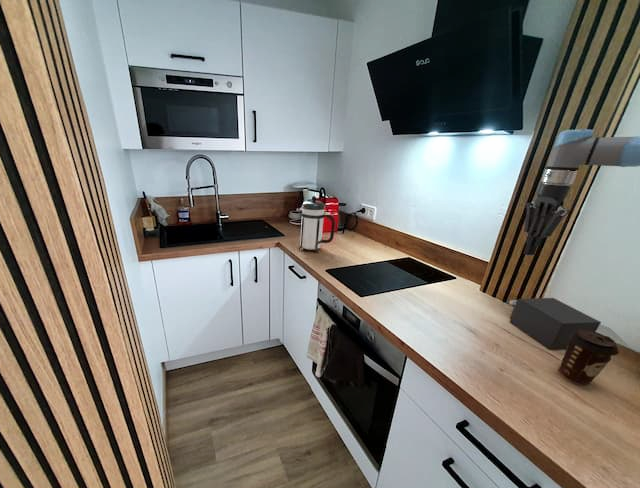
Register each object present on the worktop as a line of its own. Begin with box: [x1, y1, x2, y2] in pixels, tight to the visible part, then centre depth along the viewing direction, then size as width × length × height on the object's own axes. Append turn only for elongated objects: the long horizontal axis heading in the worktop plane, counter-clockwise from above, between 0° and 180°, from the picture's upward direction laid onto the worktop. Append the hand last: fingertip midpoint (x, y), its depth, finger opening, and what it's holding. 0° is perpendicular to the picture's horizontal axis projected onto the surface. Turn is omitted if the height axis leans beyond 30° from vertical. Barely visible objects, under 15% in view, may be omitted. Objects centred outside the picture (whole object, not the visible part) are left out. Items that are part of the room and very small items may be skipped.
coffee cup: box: [557, 330, 620, 386], centre depth 74 cm, size 9×8×13 cm
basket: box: [508, 298, 520, 320], centre depth 95 cm, size 18×11×8 cm, turn 5°
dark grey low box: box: [509, 297, 602, 351], centre depth 92 cm, size 15×13×10 cm
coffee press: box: [298, 196, 336, 254], centre depth 159 cm, size 17×16×30 cm
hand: (528, 254), depth 99 cm, fingers closed
